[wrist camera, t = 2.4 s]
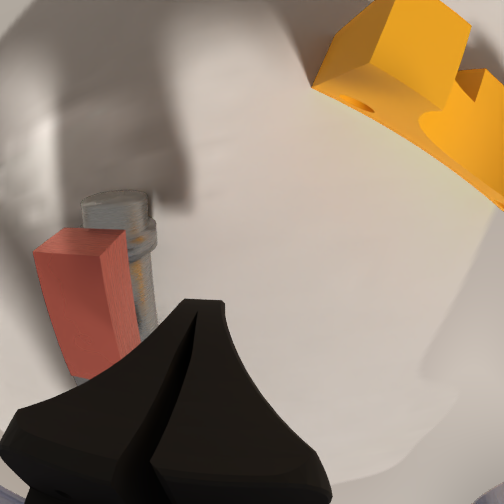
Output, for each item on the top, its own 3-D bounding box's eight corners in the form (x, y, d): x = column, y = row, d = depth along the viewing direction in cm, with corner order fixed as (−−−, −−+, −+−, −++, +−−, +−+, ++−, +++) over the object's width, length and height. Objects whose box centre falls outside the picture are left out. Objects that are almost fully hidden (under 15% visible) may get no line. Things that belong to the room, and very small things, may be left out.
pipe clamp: (528, 143, 11) (615, 173, 5) (502, 210, 13) (585, 262, 7) (348, 4, 9) (419, -64, 3) (310, 88, 11) (369, 62, 5)
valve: (197, 448, 20) (193, 483, 17) (142, 440, 20) (133, 473, 17) (178, 189, 12) (156, 212, 10) (84, 189, 12) (45, 210, 9)
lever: (175, 455, 15) (170, 483, 13) (123, 446, 15) (116, 473, 13) (136, 230, 9) (112, 257, 8) (55, 227, 9) (23, 250, 8)
